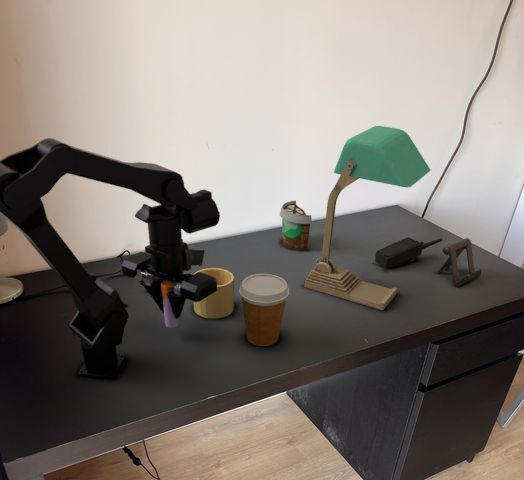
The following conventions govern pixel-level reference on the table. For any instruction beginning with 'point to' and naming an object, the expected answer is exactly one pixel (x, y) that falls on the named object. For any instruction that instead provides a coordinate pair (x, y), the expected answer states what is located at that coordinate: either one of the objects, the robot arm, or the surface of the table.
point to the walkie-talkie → (401, 252)
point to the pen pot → (217, 295)
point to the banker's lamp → (374, 169)
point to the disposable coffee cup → (263, 307)
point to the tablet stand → (454, 252)
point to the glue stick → (168, 305)
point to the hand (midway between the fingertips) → (171, 315)
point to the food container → (295, 226)
